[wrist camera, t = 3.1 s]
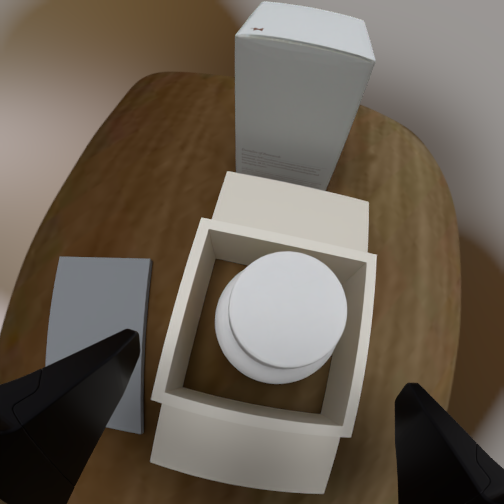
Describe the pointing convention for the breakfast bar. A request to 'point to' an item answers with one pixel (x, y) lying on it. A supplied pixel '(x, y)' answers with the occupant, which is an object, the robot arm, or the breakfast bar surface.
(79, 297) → the mat
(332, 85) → the supplement box
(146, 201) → the breakfast bar surface
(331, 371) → the carton
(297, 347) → the supplement bottle
